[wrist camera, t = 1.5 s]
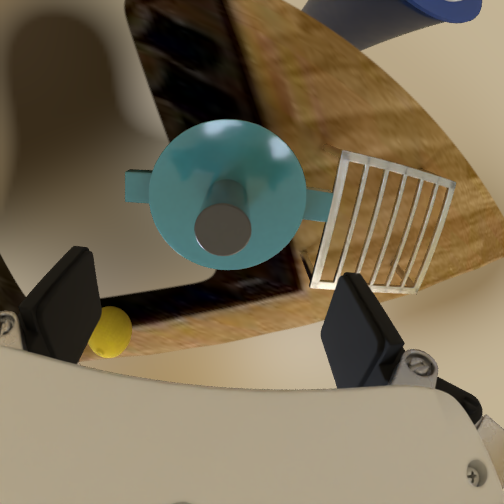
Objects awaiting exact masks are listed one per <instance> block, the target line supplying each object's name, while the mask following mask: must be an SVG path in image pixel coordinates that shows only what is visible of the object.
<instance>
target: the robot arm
mask: <svg viewBox="0 0 504 504" xmlns="http://www.w3.org/2000/svg"><path fill="white" fill-rule="evenodd" d="M446 1H452V2H456V1H461V0H446ZM18 308H19V311H20V313H19V314H18V315H16V314H15V313H14V312H11V311H1V312H0V504H504V492H503V488H504V429H503V428H501V427H500V426H499V425H498V424H497V423H496V422H495V421H493V420H492V419H491V418H490V417H489V416H487V415H485V416H484V417H483V416H482V407H481V404H480V403H479V401H478V399H477V398H476V397H475V396H473V395H472V394H470V393H468V392H466V391H464V390H462V389H460V388H458V387H456V386H454V385H452V384H451V383H448V382H447V381H445V380H443V379H441V378H439V377H437V375H438V366H437V363H436V362H435V360H434V359H433V358H432V357H431V356H430V355H429V354H427V353H425V352H424V351H421V350H417V349H410V350H407V351H405V350H404V348H403V345H404V341H403V340H402V338H401V336H400V335H399V333H398V331H397V330H396V328H395V327H394V325H393V324H392V322H391V320H390V319H389V317H388V315H387V314H386V312H385V311H384V309H383V307H382V306H381V305H380V303H379V301H378V300H377V298H376V297H375V295H374V294H373V292H372V291H371V289H370V288H369V286H368V285H367V283H366V282H365V280H364V279H363V277H362V276H361V274H360V273H349V272H346V273H344V275H343V276H340V277H339V279H338V281H337V285H336V288H335V291H334V294H333V297H332V300H331V303H330V306H329V309H328V312H327V315H326V318H325V321H324V324H323V326H322V330H321V339H322V342H323V345H324V348H325V351H326V354H327V357H328V361H329V363H330V366H331V370H332V373H333V376H334V379H335V382H336V386H337V389H311V390H270V389H243V388H226V387H213V386H201V385H192V384H183V383H175V382H167V381H160V380H153V379H147V378H141V377H135V376H129V375H123V374H118V373H113V372H108V371H103V370H98V369H94V368H90V367H86V366H81V365H77V363H78V361H79V359H80V357H81V355H82V353H83V351H84V349H85V347H86V345H87V343H88V341H89V339H90V337H91V335H92V333H93V331H94V329H95V327H96V326H97V324H98V322H99V320H100V318H101V315H102V307H101V302H100V297H99V292H98V286H97V279H96V273H95V266H94V258H93V254H92V252H90V251H89V249H88V248H87V247H80V246H73V247H72V248H71V249H70V250H69V251H68V252H67V253H66V254H65V255H64V256H63V257H62V258H61V259H60V260H59V261H58V262H57V263H56V265H55V266H54V267H53V268H52V269H51V270H50V271H49V272H48V273H47V274H46V275H45V276H44V277H43V279H42V280H41V281H40V282H39V283H38V284H37V285H36V286H35V287H34V289H33V290H32V291H31V292H30V293H29V294H28V296H27V297H26V298H25V299H24V300H23V301H22V303H21V304H20V305H19V306H18Z"/></svg>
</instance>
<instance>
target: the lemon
mask: <svg viewBox="0 0 504 504" xmlns="http://www.w3.org/2000/svg"><path fill="white" fill-rule="evenodd" d="M131 334H132V325H131V321H130V319H129V317H128V315H127V314H126V313H125V312H124V311H123V310H121V309H120V308H117V307H114V306H107V307H104V308H102V315H101V318H100V320H99V322H98V324H97V326H96V327H95V329H94V331H93V333H92V335H91V337H90V339H89V341H88V343H89V346H90V347H91V349H92V350H93V351H94V352H95V353H96V354H97V355H99V356H101V357H105V358H112V357H116V356H118V355H119V354H121V353H122V352H123V351H124V350H125V348H126V347H127V345H128V344H129V342H130V339H131Z"/></svg>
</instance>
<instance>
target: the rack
mask: <svg viewBox="0 0 504 504" xmlns="http://www.w3.org/2000/svg"><path fill="white" fill-rule="evenodd" d="M323 150H324V151H325V152H327V153H329V154H331V155H333V156H335V157H337V158H339V161H338V166H337V171H336V176H335V181H334V185H333V190H332V193H333V194H334V195H333V199H332V204H331V208H330V213H329V217H328V221H327V222H325V225H324V229H323V233H322V238H321V242H320V246H319V250H318V254H317V257H316V261H315V265H314V268H313V266H312V263H311V261H310V259H309V257H308V254H307V252H302V253H301V254H300V256H301V259H302V261H303V264H304V266H305V269H306V272H307V274H308V277H309V279H310V284H309V287H310V288H318V289H332V290H335V288H336V285H337V281H338V279H339V277H340V274H341V271H342V268H343V265H344V261H345V258H346V255H347V251H348V248H349V244H350V241H351V237H352V234H353V230H354V227H355V223H356V219H357V215H358V212H359V208H360V204H361V200H362V196H363V192H364V187H365V183H366V179H367V174H368V170H369V166H372V167H376V168H381V169H384V170H383V174H382V179H381V183H380V187H379V191H378V195H377V199H376V203H375V206H374V210H373V214H372V217H371V221H370V225H369V228H368V231H367V235H366V238H365V242H364V245H363V248H362V251H361V255H360V258H359V261H358V264H357V267H356V270H355V273H360V271H361V268H362V265H363V262H364V259H365V256H366V253H367V250H368V247H369V243H370V240H371V237H372V234H373V230H374V227H375V223H376V220H377V216H378V213H379V209H380V205H381V202H382V198H383V194H384V190H385V186H386V182H387V178H388V174H389V171H392V172H396V173H400V174H402V176H401V180H400V184H399V188H398V192H397V196H396V199H395V203H394V207H393V210H392V214H391V217H390V221H389V224H388V227H387V231H386V234H385V237H384V240H383V243H382V246H381V249H380V252H379V255H378V258H377V261H376V264H375V267H374V270H373V273H372V275H371V278H370V281H369V283H367V285H368V286H369V288H370V289H371V291H372V292H383V293H404V294H417V292H418V290H419V288H420V285H421V283H422V281H423V278H424V276H425V274H426V271H427V269H428V266H429V264H430V261H431V259H432V256H433V254H434V251H435V248H436V246H437V243H438V240H439V237H440V234H441V232H442V229H443V226H444V223H445V220H446V216H447V213H448V210H449V207H450V203H451V200H452V197H453V193H454V189H455V186H456V182H454V181H452V180H449V179H446V178H443V177H441V176H438V175H436V174H434V173H432V172H429V171H427V170H425V169H423V168H421V169H419V170H418V169H415V168H412V167H408V166H405V165H401V164H398V163H394V162H391V161H387V160H383V159H379V158H375V157H371V156H367V155H363V154H359V153H355V152H350V151H346V150H341V149H339V148H336V147H334V146H331V145H329V144H324V145H323ZM349 161H350V162H355V163H359V164H364V166H363V170H362V175H361V179H360V184H359V188H358V192H357V196H356V200H355V204H354V208H353V212H352V216H351V220H350V224H349V228H348V231H347V235H346V239H345V242H344V246H343V249H342V253H341V256H340V260H339V263H338V267H337V270H336V273H335V276H334V280H333V281H330V280H320V278H321V274H322V271H323V267H324V264H325V260H326V256H327V253H328V249H329V245H330V241H331V237H332V233H333V229H334V226H335V222H336V217H337V213H338V209H339V205H340V201H341V196H342V192H343V188H344V183H345V178H346V174H347V169H348V164H349ZM407 176H411V177H414V178H418V179H419V180H418V183H417V187H416V191H415V195H414V198H413V202H412V206H411V209H410V212H409V216H408V219H407V222H406V225H405V229H404V232H403V235H402V238H401V241H400V244H399V247H398V250H397V253H396V255H395V258H394V261H393V262H391V269H390V272H389V274H388V277H387V280H386V282H385V284H374V282H375V279H376V276H377V273H378V271H379V268H380V265H381V262H382V259H383V257H384V254H385V251H386V248H387V245H388V242H389V239H390V235H391V232H392V229H393V226H394V222H395V219H396V216H397V212H398V209H399V205H400V202H401V198H402V194H403V191H404V187H405V183H406V179H407ZM424 180H425V181H428V182H431V183H434V185H433V189H432V192H431V196H430V200H429V203H428V206H427V210H426V213H425V216H424V220H423V223H422V226H421V229H420V232H419V235H418V238H417V241H416V244H415V246H414V249H413V252H412V255H411V258H410V260H409V263H408V265H407V268H406V271H405V272H404V271H403V270H402V269H401V267H400V266H399V265H398V262H399V259H400V256H401V253H402V251H403V248H404V245H405V242H406V239H407V236H408V233H409V230H410V227H411V224H412V220H413V217H414V214H415V210H416V207H417V204H418V200H419V197H420V193H421V189H422V185H423V182H424ZM439 185H441V186H444V187H446V188H447V190H446V193H445V197H444V200H443V204H442V207H441V211H440V214H439V217H438V220H437V223H436V226H435V229H434V232H433V235H432V238H431V241H430V244H429V246H428V249H427V252H426V254H425V257H424V260H423V262H422V265H421V267H420V270H419V272H418V275H417V277H416V280H415V282H414V283H413V282H412V280H411V279H410V278H409V277H408V276H409V273H410V271H411V268H412V266H413V263H414V260H415V258H416V255H417V252H418V250H419V247H420V244H421V241H422V238H423V236H424V233H425V230H426V227H427V223H428V220H429V217H430V214H431V211H432V207H433V204H434V201H435V197H436V193H437V190H438V186H439ZM395 271H396V273H397V274H398V275H399V276H400V278H401V279H402V281H401V283H400V285H390V283H391V280H392V278H393V275H394V272H395ZM405 284H406V285H407V286H404V285H405Z"/></svg>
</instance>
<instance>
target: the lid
mask: <svg viewBox="0 0 504 504" xmlns="http://www.w3.org/2000/svg"><path fill="white" fill-rule="evenodd" d="M306 201H307V188H306V181H305V177H304V173H303V170H302V168H301V165H300V163H299V161H298V159H297V158H296V156H295V154H294V153H293V151H292V150H291V149H290V148H289V146H288V145H287V144H286V143H285V142H284V141H283V140H282V139H281V138H279V137H278V136H277V135H276V134H274V133H273V132H271V131H270V130H268V129H266V128H264V127H262V126H260V125H258V124H255V123H251V122H248V121H244V120H238V119H218V120H212V121H208V122H204V123H201V124H198V125H196V126H193V127H191V128H189V129H188V130H186V131H184V132H182V133H181V134H180V135H178V136H177V137H176V138H175V139H173V140H172V141H171V142H170V143H169V144H168V146H167V147H166V148H165V149H164V151H163V152H162V153H161V155H160V156H159V158H158V160H157V162H156V164H155V166H154V169H153V171H152V174H151V179H150V183H149V205H150V210H151V214H152V217H153V220H154V223H155V225H156V227H157V229H158V231H159V232H160V234H161V235H162V237H163V238H164V240H165V241H166V242H167V243H168V244H169V246H171V247H172V248H173V249H174V250H175V251H176V252H177V253H179V254H180V255H181V256H183V257H184V258H186V259H188V260H190V261H191V262H194V263H196V264H199V265H201V266H204V267H208V268H213V269H219V270H236V269H243V268H248V267H251V266H255V265H258V264H260V263H262V262H264V261H266V260H268V259H270V258H271V257H273V256H274V255H276V254H277V253H278V252H280V251H281V250H282V249H283V248H284V247H285V246H286V245H287V244H288V243H289V242H290V240H291V239H292V238H293V237H294V235H295V233H296V232H297V230H298V228H299V226H300V224H301V222H302V219H303V216H304V213H305V209H306Z"/></svg>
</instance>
